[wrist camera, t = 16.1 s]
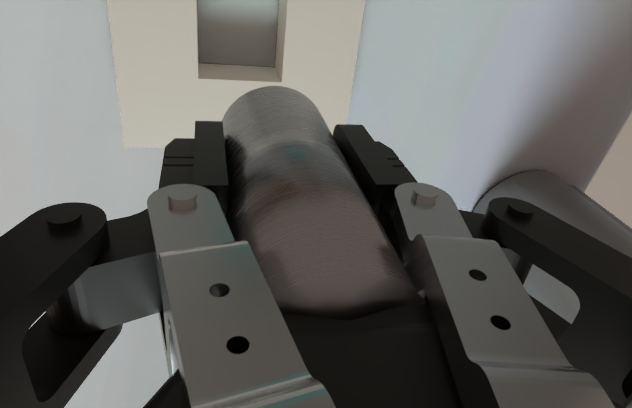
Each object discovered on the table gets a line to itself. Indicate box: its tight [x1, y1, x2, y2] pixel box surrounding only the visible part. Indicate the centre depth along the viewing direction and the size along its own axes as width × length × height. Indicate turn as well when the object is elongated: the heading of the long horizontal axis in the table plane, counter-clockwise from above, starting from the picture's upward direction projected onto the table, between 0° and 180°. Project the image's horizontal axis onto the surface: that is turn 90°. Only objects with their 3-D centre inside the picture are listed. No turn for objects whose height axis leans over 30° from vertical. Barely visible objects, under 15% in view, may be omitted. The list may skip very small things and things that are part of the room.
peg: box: [222, 86, 425, 321], centre depth 11 cm, size 3×3×8 cm
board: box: [107, 0, 366, 148], centre depth 26 cm, size 13×13×3 cm
